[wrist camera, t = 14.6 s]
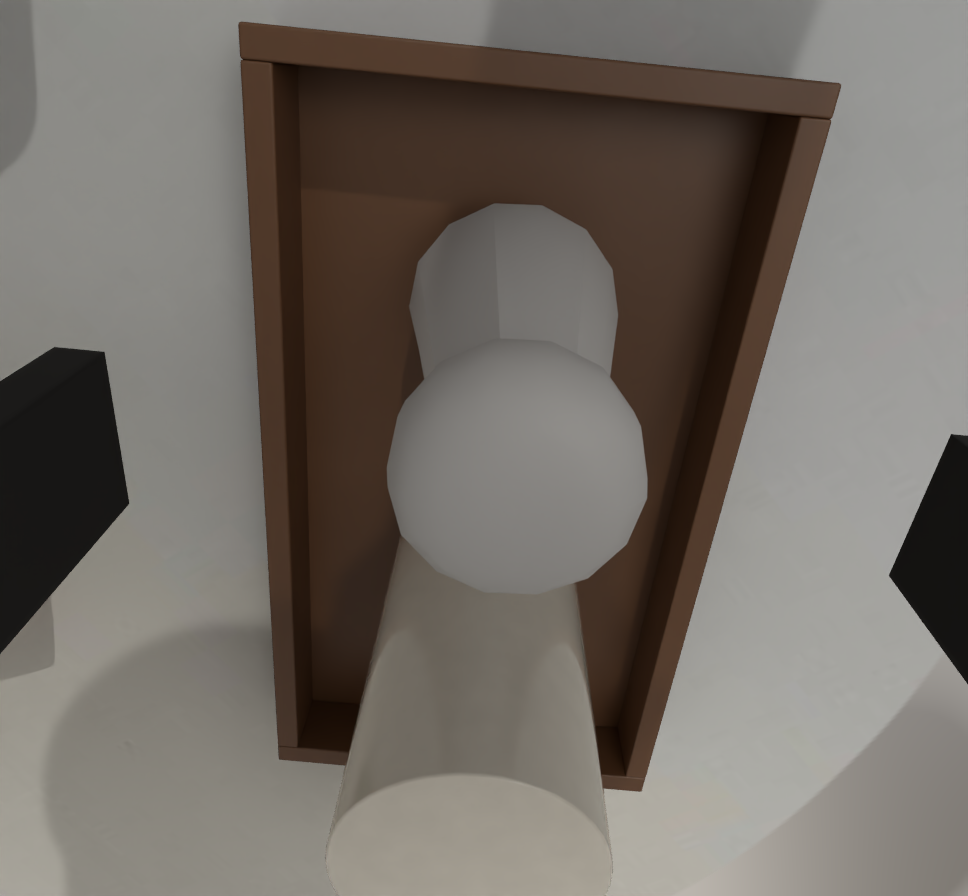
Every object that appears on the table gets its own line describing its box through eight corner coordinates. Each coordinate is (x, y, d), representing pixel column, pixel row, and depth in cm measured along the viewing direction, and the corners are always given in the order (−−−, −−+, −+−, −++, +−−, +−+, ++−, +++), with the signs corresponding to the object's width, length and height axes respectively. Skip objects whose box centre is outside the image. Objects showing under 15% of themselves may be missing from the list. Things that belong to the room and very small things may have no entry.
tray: (274, 27, 20) (237, 21, 17) (798, 81, 20) (842, 83, 18) (298, 700, 32) (278, 760, 29) (630, 730, 32) (641, 792, 29)
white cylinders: (407, 447, 25) (323, 761, 14) (580, 463, 25) (638, 789, 14) (395, 698, 31) (327, 1073, 19) (537, 711, 31) (553, 1092, 19)
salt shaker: (519, 408, 25) (527, 708, 13) (382, 298, 23) (253, 528, 11) (646, 276, 22) (790, 495, 11) (505, 145, 21) (498, 240, 9)
